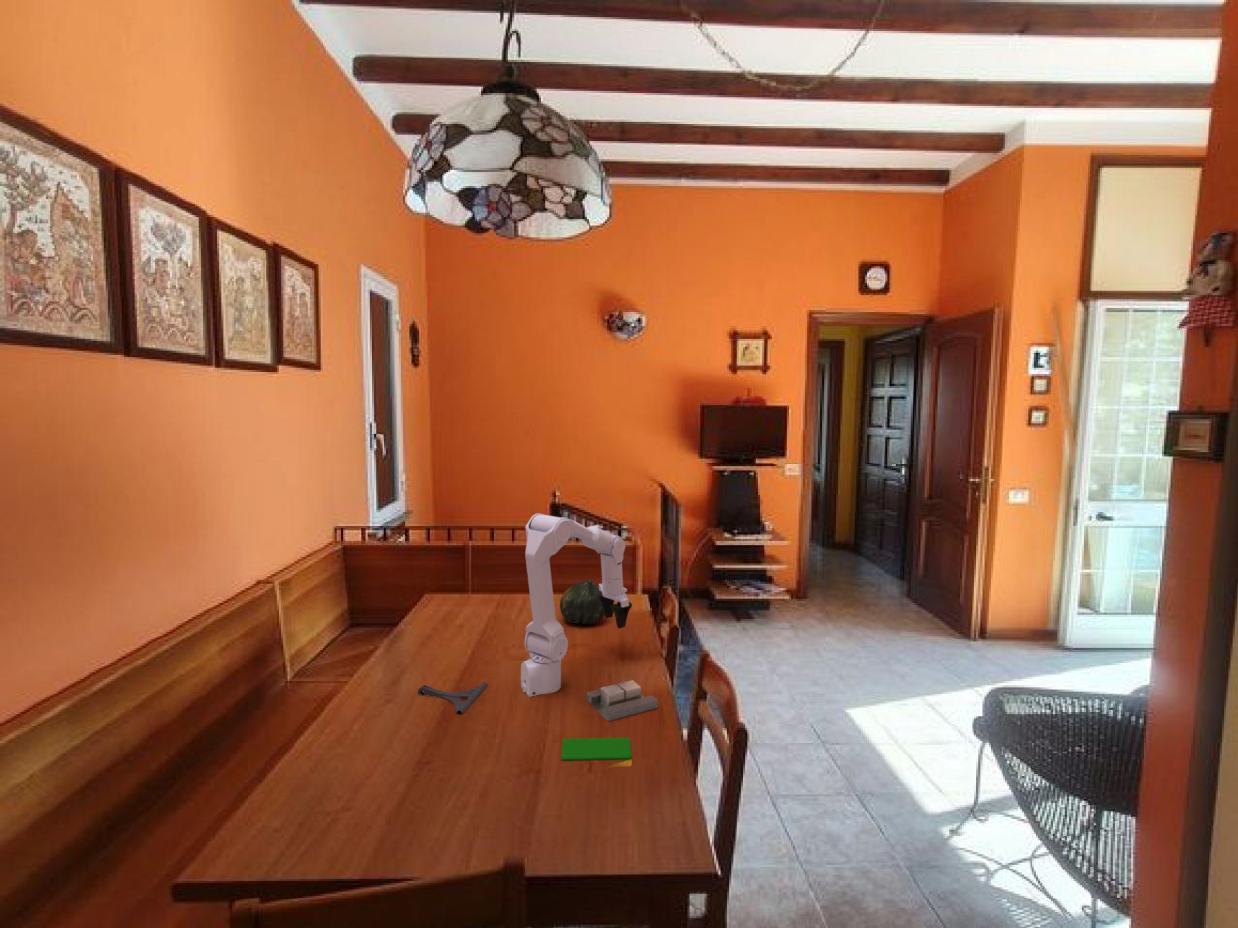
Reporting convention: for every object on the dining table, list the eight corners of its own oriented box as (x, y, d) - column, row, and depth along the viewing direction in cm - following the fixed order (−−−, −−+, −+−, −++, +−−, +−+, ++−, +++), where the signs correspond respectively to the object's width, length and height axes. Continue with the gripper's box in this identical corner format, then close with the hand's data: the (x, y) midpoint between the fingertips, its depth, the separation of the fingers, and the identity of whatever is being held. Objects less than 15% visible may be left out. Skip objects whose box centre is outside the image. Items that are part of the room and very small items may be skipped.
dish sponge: (631, 768, 118) (631, 756, 118) (561, 769, 117) (561, 758, 117) (629, 747, 125) (629, 736, 125) (562, 749, 124) (562, 738, 124)
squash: (555, 597, 203) (562, 573, 193) (597, 595, 208) (607, 571, 197) (560, 636, 194) (568, 612, 183) (604, 633, 198) (615, 610, 188)
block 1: (608, 711, 136) (608, 695, 135) (600, 704, 139) (600, 687, 139) (623, 707, 138) (624, 691, 137) (615, 700, 141) (615, 684, 141)
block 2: (625, 707, 138) (626, 690, 137) (617, 699, 141) (617, 683, 141) (640, 703, 140) (641, 687, 139) (632, 696, 143) (632, 680, 143)
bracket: (433, 682, 153) (433, 672, 153) (487, 688, 151) (487, 677, 150) (403, 711, 139) (402, 699, 139) (462, 717, 137) (462, 706, 136)
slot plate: (607, 727, 132) (607, 713, 131) (586, 705, 141) (586, 692, 141) (657, 713, 138) (658, 700, 138) (633, 693, 148) (634, 680, 147)
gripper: (637, 581, 161) (640, 628, 164) (613, 565, 174) (615, 609, 177) (614, 587, 158) (617, 634, 161) (591, 570, 171) (594, 615, 173)
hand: (615, 621), depth 168 cm, fingers open, 7 cm apart
